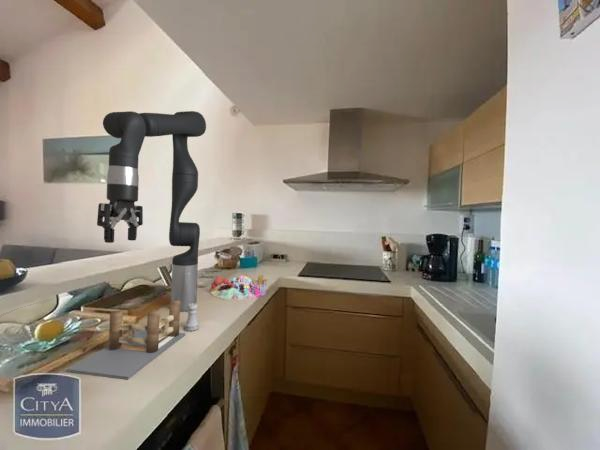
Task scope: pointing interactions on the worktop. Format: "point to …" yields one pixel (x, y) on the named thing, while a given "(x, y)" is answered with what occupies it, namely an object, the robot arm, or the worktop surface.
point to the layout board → (122, 358)
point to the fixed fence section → (154, 326)
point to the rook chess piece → (192, 318)
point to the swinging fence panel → (116, 331)
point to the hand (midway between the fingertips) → (121, 241)
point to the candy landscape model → (239, 287)
